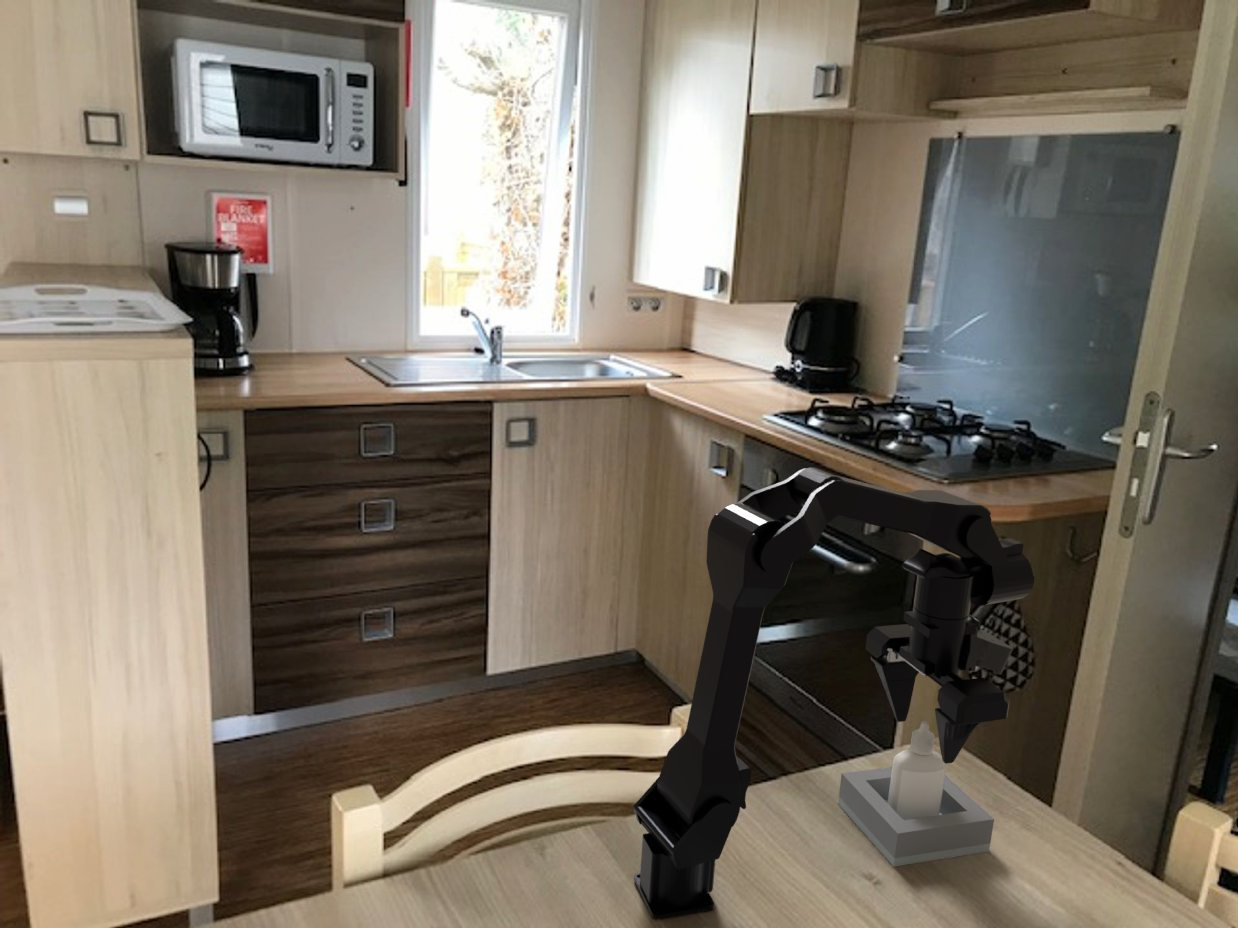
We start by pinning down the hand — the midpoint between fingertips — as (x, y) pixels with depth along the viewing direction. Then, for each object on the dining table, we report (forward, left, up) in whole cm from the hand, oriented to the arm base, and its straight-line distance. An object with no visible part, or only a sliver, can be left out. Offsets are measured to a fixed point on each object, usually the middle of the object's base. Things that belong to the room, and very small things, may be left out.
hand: (923, 740), depth 112 cm
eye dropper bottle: (0, 0, -10) cm, 10 cm away
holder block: (0, 0, -11) cm, 11 cm away
